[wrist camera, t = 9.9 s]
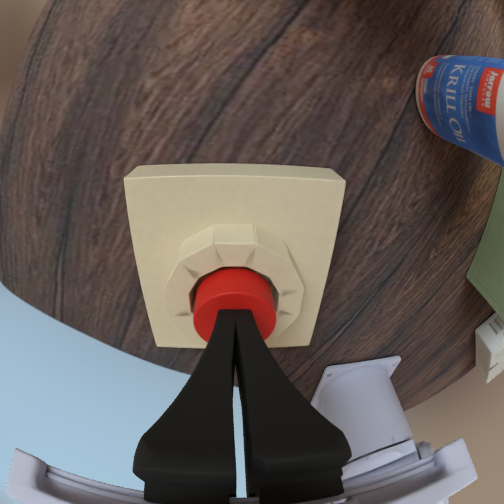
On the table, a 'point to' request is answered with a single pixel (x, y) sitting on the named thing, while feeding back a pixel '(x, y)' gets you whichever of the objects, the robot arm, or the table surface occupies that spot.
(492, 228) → the cabinet
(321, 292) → the control box
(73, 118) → the table surface
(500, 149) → the pill bottle
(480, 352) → the cosmetic box
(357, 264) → the table surface
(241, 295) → the button
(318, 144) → the table surface
